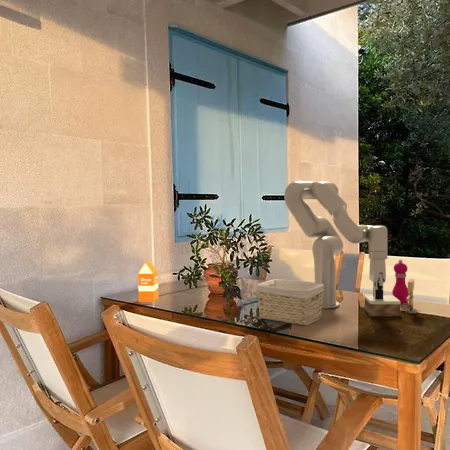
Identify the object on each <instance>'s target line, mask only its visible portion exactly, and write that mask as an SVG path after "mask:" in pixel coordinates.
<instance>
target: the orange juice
mask: <svg viewBox="0 0 450 450" xmlns="http://www.w3.org/2000/svg"><path fill="white" fill-rule="evenodd" d="M158 273H159V272H158V269H156V267H155V266H154V264H153V263H152V261H151V260H148V261H145V262H144V263H143V266H142V267H141V269H140V270H139V272H138V273H137V276H138V277H137V278H138V279H137V281H138V283H137V284H138V285H137V287H138V303H139V302H154V301H155V300H156V299H157V298H158V299H159V277H158Z"/></svg>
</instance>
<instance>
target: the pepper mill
mask: <svg viewBox="0 0 450 450" xmlns="http://www.w3.org/2000/svg"><path fill="white" fill-rule="evenodd" d="M393 271H394V272H395V273H394V277H395V284H394V286H393V288H392V291H391V294H392V295H393V296H394V297H396V298H397V299H398V300H399V301H400V305H406V304H409V301H407V297H408V295H409V292H408V285H407V283H406V278H407V272H408V266H407V264H406V263H404V261H403V260H402V259H399V260H398V262H397V263H395V264H394V266H393Z"/></svg>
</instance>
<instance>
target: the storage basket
mask: <svg viewBox="0 0 450 450" xmlns="http://www.w3.org/2000/svg"><path fill="white" fill-rule="evenodd" d="M255 290H256V293H257V299H258V300H257V301H258V310H259V311H258V312H259V318H260V319H262V320H263V319H264V320H269V321H274V322H282V323H285V324H292V325H294V324H296V325H298V326H299V325H300V326H306V327H307V326H310V325H311V324H313V323H315V322H316V321H319V320H320V319H321V318H322V309H323V308H322V296H323V295H322V294H323V291H324V285H323V284H317V283H315V282H309V281H299V280H291V279H276V278H274V279H271V280H270V279H269V280H267V281H263V282H260V283H258V284H257V285H256V289H255Z"/></svg>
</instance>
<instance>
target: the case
mask: <svg viewBox="0 0 450 450" xmlns="http://www.w3.org/2000/svg"><path fill="white" fill-rule="evenodd" d="M363 301H364V304H363V305H364V307H363V310H364V311H365V312H366V313H367V315H369V317H402V314H401V304H370V303H369V302H368V301H367V300H366V299H365V298H364V300H363Z"/></svg>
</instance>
